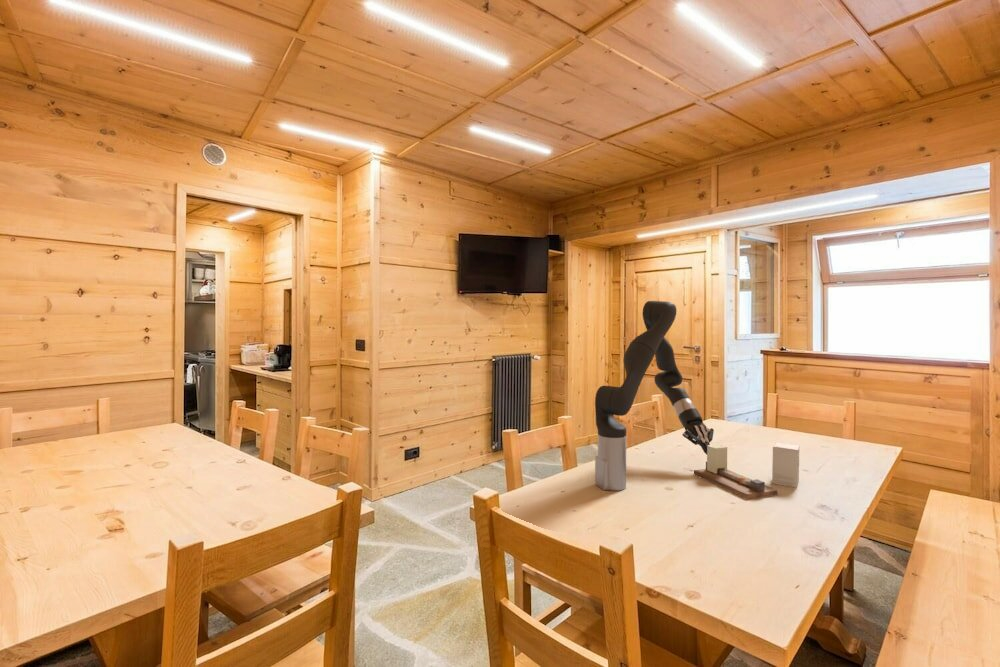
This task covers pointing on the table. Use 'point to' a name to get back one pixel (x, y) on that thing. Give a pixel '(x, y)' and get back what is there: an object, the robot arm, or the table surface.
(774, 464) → the supplement box
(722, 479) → the rail
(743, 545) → the table surface
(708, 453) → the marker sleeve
